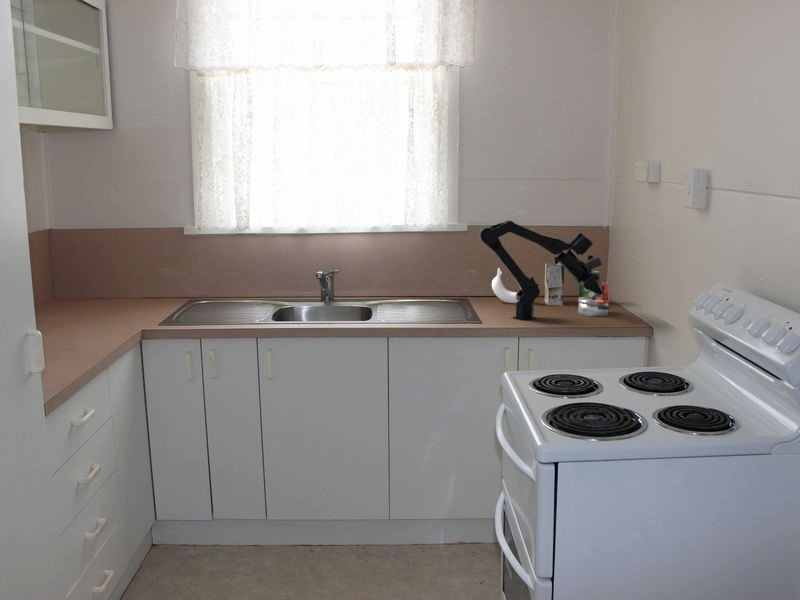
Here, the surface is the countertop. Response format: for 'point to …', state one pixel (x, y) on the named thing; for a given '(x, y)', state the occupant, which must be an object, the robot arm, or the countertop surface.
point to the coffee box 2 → (586, 292)
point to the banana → (502, 290)
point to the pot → (593, 309)
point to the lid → (597, 300)
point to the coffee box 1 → (554, 283)
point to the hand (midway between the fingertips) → (601, 293)
